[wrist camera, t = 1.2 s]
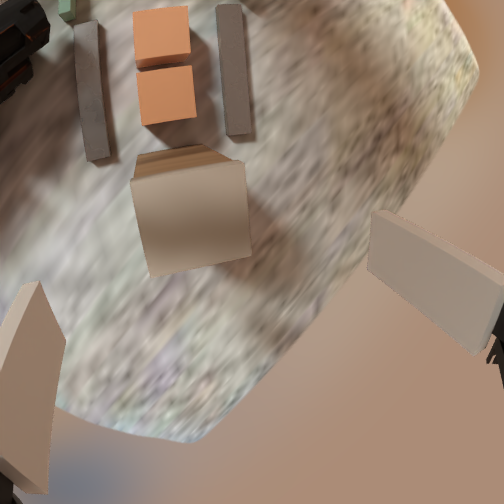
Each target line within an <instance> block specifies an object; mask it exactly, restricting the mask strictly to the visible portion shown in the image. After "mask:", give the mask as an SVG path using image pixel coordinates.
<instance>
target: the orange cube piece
mask: <svg viewBox="0 0 504 504" xmlns="http://www.w3.org/2000/svg"><path fill="white" fill-rule="evenodd" d="M133 31H134V48H135V61H136V67H137V68H141V67H147V66H154V65H160V64H167V63H175V62H184V61H185V60H186V59H187V57H188V56H189V55H190V53H191V48H190V35H189V21H188V6H178V7H167V8H159V9H151V10H144V11H137V12H133Z"/></svg>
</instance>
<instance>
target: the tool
mask: <svg viewBox="0 0 504 504" xmlns="http://www.w3.org/2000/svg"><path fill="white" fill-rule="evenodd" d="M49 33H50V23H49V22H48V20H47V17H46V14H45V12H44V10H43V8H42V7H41V5H40V4H39V2H38V1H37V0H8V1H7V2H5V3H3V4H2V5H0V104H1V103H3V102H4V101H5V100H7V99H8V98H9V97H10V96H12V95H13V93H15V88H16V87H17V86H18V85H19V84H21V83H22V84H27V82H28V81H29V80H30V79H31V78H32V77H33V69H32V64H31V61H30V59H29V56H30V55H32V54H33V53H34V52H36V51H37V50H39V49H40V48H42V47H43V46H44V45H46V44H47V43H48V42H49Z"/></svg>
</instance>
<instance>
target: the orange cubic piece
mask: <svg viewBox="0 0 504 504" xmlns="http://www.w3.org/2000/svg"><path fill="white" fill-rule="evenodd" d="M136 75H137V86H138V96H139V105H140V113H141V122H142V126H144V125H149V124H155V123H161V122H167V121H173V120H179V119H186V118H193V117H197V115H196V105H195V95H194V84H193V73H192V65H189V66H180V67H172V68H165V69H158V70H152V71H146V72H140V73H136Z"/></svg>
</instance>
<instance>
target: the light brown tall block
mask: <svg viewBox="0 0 504 504" xmlns="http://www.w3.org/2000/svg"><path fill="white" fill-rule="evenodd" d="M130 187H131V192H132V197H133V203H134V208H135V213H136V217H137V222H138V227H139V231H140V236H141V240H142V245H143V249H144V253H145V257H146V261H147V266H148V270H149V273H150V277H151V278H154V277H159V276H163V275H168V274H173V273H177V272H182V271H186V270H191V269H195V268H200V267H205V266H209V265H214V264H218V263H223V262H227V261H232V260H237V259H241V258H246V257H250V256H252V249H251V237H250V225H249V213H248V201H247V189H246V177H245V165H244V163H243V162H241V161H239V160H234V161H233V160H231V159H229V158H228V157H226V156H224V155H222V154H220V153H218V152H216V151H214V150H212V149H210V148H208V147H206V146H204V145H202V144H197V145H191V146H185V147H179V148H173V149H167V150H161V151H156V152H151V153H146V154H140V155H138V157H137V162H136V167H135V172H134V178H131V180H130Z"/></svg>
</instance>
